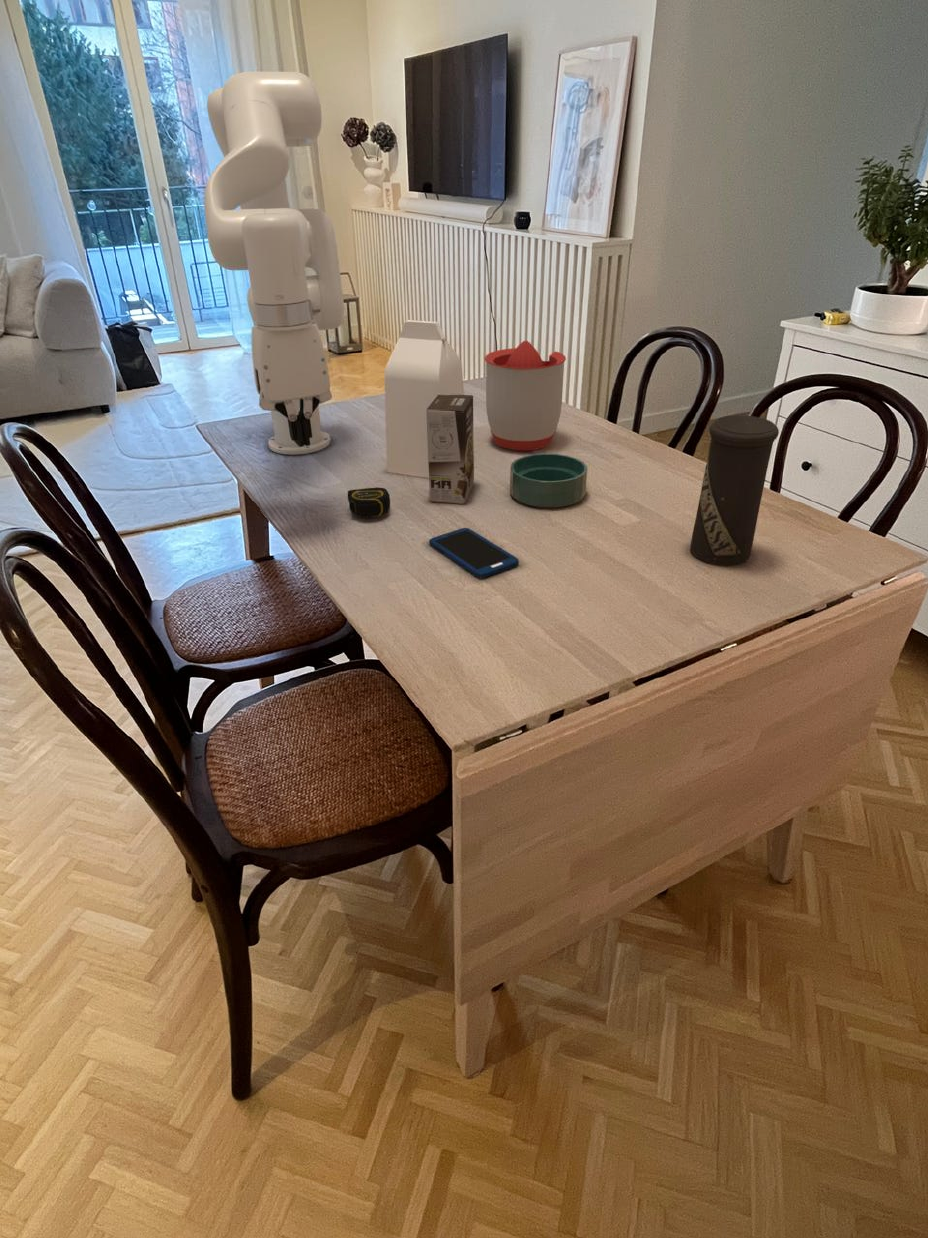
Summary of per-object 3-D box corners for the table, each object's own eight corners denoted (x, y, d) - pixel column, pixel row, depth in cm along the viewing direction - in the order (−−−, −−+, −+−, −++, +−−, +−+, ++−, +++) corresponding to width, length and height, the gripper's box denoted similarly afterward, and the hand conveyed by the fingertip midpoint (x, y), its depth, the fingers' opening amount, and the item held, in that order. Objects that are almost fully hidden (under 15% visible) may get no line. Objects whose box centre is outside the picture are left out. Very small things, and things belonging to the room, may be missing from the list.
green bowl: (496, 489, 129) (496, 462, 126) (557, 474, 134) (558, 448, 131) (536, 516, 120) (537, 487, 117) (600, 499, 125) (602, 472, 122)
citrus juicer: (577, 434, 152) (584, 334, 141) (539, 461, 140) (543, 353, 129) (512, 423, 159) (514, 326, 148) (470, 447, 147) (469, 344, 136)
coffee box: (465, 504, 124) (463, 410, 115) (428, 502, 125) (424, 408, 116) (475, 483, 131) (474, 394, 122) (440, 481, 132) (437, 392, 124)
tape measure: (388, 503, 125) (387, 483, 123) (392, 520, 119) (391, 499, 117) (348, 507, 124) (346, 486, 122) (350, 524, 118) (348, 503, 116)
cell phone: (480, 579, 102) (480, 575, 102) (427, 543, 112) (426, 538, 111) (521, 564, 106) (521, 560, 105) (466, 530, 115) (466, 526, 115)
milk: (387, 471, 137) (375, 326, 123) (413, 451, 146) (404, 313, 131) (445, 480, 133) (440, 330, 119) (468, 458, 142) (466, 317, 128)
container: (680, 541, 111) (701, 411, 100) (737, 538, 112) (764, 408, 101) (700, 569, 104) (725, 432, 93) (761, 565, 104) (793, 429, 93)
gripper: (326, 305, 106) (340, 429, 116) (223, 316, 101) (247, 445, 110) (343, 313, 101) (357, 442, 111) (235, 325, 95) (260, 460, 105)
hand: (302, 443), depth 110 cm, fingers closed
